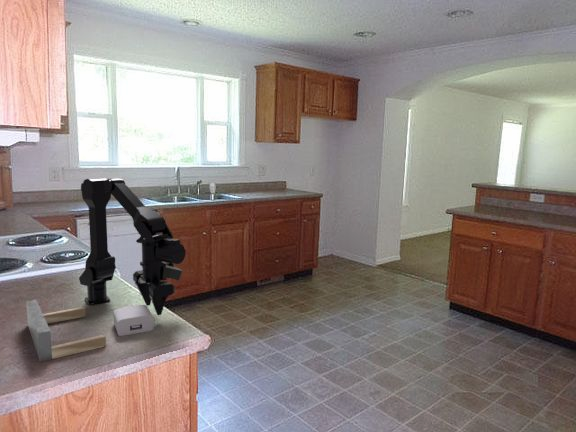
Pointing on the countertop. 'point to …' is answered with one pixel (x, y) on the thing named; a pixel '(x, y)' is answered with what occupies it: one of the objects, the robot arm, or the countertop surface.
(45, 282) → the countertop surface
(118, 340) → the countertop surface
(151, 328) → the charger
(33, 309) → the guarded bay
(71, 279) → the countertop surface
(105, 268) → the robot arm
